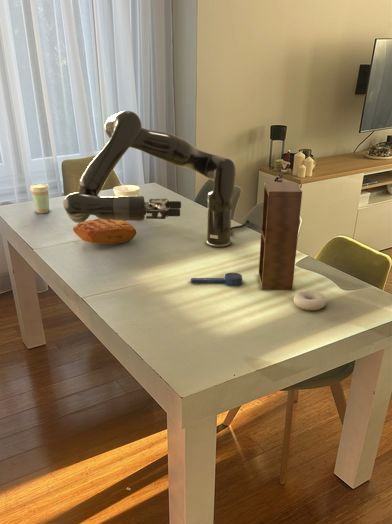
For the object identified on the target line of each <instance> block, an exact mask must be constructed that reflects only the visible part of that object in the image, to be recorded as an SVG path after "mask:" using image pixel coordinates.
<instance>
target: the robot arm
mask: <svg viewBox="0 0 392 524" xmlns="http://www.w3.org/2000/svg"><path fill="white" fill-rule="evenodd" d="M142 125H143V124H142V120H141V118H140V116H139V115H138V114H137V113H135V112H134V111H131V110H124V111H120V112H118V113H115V114H113V115H111V116H110V117H108V118H107V120H106V122H105V124H104V130H105V133H106V135H107V137H108V138H109V140H108V141H107V143H106V144H105V146H104V147H103V148H102V150H100V152H99V153H98V154H97V155H96V156H95V157H94V158H93V160H92V161H91V162H90V163H89V164H88V166H87V168H86V169H85V171H84V172H83V174H82V176H81V178H80V179H79V182H78V191H77V192H73V193H69V194H67V195H66V197H64V199H63V202H62V203H63V208H64V211H65V212H66V214H67V216H68V218H69V219H70V220H71V221H72V222H73V223H76V224H78V223H82V222H84V221H88V220H89V218H90V216H95V217H96V219H103V220H122V221H126V222H135V221H136V222H137V221H138V222H139V221H140V222H142V221H144V220H145V219H148V220H166V218H168V217H180V216H181V209H182V201H181V200H180V201H179V200H169V199H168V198H149V199H148V201H145V197H144V196H143V195H138V196H118V197H116V196H99V194H100V192H101V191H102V190H103V187H104V186H105V184H106V183H107V180H108V178H110V176H111V174H112V172H113V170H114V169H115V168H116V166H117V164H118V163H119V161H120V160H121V159H122V157H123V156H124V155H125V153H126V152H127V151H128V150H129V148H132V149H136V150H138V151H141V152H144V153H146V154H148V155H149V156H152V157H155V158H157V159H159V160H161V161H163V162H166V163H168V164H171V165H173V166H176V167H179V168H183V169H189V170H191V171H195V172H197V173H198V174H200V175H202V176H204V177H205V178H207V179H208V180H210V181H213V190H210V191H209V192H208V193H207V216H206V217H207V218H206V219H207V223H206V225H207V226H206V228H207V229H206V244H207V245H208V246H210V247H213V248H225V247H228V246H230V245H231V236H232V230H236V229H241V228H244V227H246V226H247V224H249V223H250V220H249V219H245V221H244V223H243V224H241V225H236V226H235V225H234V226H232V200H233V195H234V193H235V185H236V176H237V175H236V173H237V172H236V171H237V170H236V165H235V162H234V160H232V159H230V158H229V157H225V156H221V155H217V154H213V153H209V152H206V151H203V150H201V149H198V148H197V147H196V146H195V145H193V144H192V143H191V142H190V141H188V140H186V139H184V138H182V137H181V136H180V137H179V136H177V135H175V134H172V133H169V132H165V131H159V130H151V129H148V128H145V127H143V126H142Z"/></svg>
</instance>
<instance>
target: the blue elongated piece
mask: <svg viewBox="0 0 392 524" xmlns="http://www.w3.org/2000/svg"><path fill="white" fill-rule="evenodd" d="M190 283H191V284H211V285H212V284H215V285H216V284H218V285H220V284H221V285H222V284H223V285H226V286H229V287H238V286H240V285H242V284H243V275H242V274H241V273H239V272H227V273H224V276H223V277H191V278H190Z"/></svg>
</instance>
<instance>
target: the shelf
mask: <svg viewBox="0 0 392 524" xmlns="http://www.w3.org/2000/svg"><path fill="white" fill-rule="evenodd" d="M263 186H264V187H263V200H262V213H261V214H262V216H261V227H260V228H261V230H260V231H261V232H260V244H259V245H260V246H259V257H258V258H259V260H258V262H259V263H258V272H257V273H258V279H259V280H258V281H259V283H260V287H261V290H262V291H266V290H267V291H275V290H276V291H293V286H294V276H295V269H296V259H297V258H296V256H297V248H298V238H299V237H298V236H299V228H300V218H301V209H302V199H303V191H302V189H301V188H300V186H299V185H298V183H297V182H296V181H264V185H263Z"/></svg>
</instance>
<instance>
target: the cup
mask: <svg viewBox="0 0 392 524" xmlns="http://www.w3.org/2000/svg"><path fill="white" fill-rule="evenodd" d="M140 189H141V187H140V186H138V185H134V184H121V185H117V186H114V187H113V188H112V190H113V193H114V197H118V196H140Z"/></svg>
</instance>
